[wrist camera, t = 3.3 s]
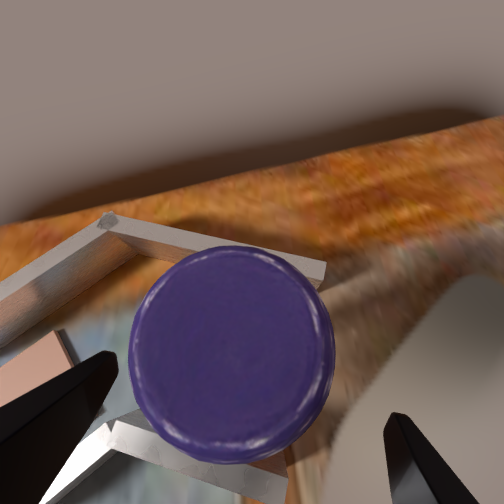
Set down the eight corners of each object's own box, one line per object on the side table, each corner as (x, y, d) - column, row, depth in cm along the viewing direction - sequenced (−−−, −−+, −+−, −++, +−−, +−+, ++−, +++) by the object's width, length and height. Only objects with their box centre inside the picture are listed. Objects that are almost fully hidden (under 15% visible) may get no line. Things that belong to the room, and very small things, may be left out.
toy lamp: (265, 307, 20) (262, 147, 5) (304, 363, 19) (482, 395, 3) (211, 345, 20) (-6, 301, 4) (246, 406, 18) (119, 719, 2)
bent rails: (366, 450, 17) (398, 481, 13) (-72, 553, 16) (-190, 623, 12) (291, 205, 23) (296, 172, 19) (-23, 271, 23) (-89, 252, 18)
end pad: (-1, 493, 17) (-7, 496, 17) (-34, 394, 19) (-40, 395, 19) (98, 414, 18) (94, 416, 18) (57, 330, 20) (53, 330, 20)
